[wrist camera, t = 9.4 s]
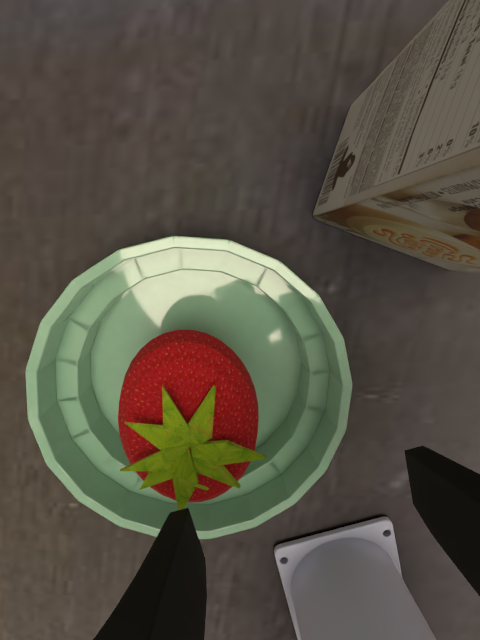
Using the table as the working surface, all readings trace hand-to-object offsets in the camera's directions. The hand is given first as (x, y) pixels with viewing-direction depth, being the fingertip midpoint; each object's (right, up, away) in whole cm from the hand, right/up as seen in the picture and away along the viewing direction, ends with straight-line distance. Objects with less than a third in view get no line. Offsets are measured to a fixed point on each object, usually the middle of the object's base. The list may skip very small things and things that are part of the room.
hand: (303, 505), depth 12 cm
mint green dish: (-4, +3, +10) cm, 11 cm away
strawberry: (-4, +3, +9) cm, 11 cm away
